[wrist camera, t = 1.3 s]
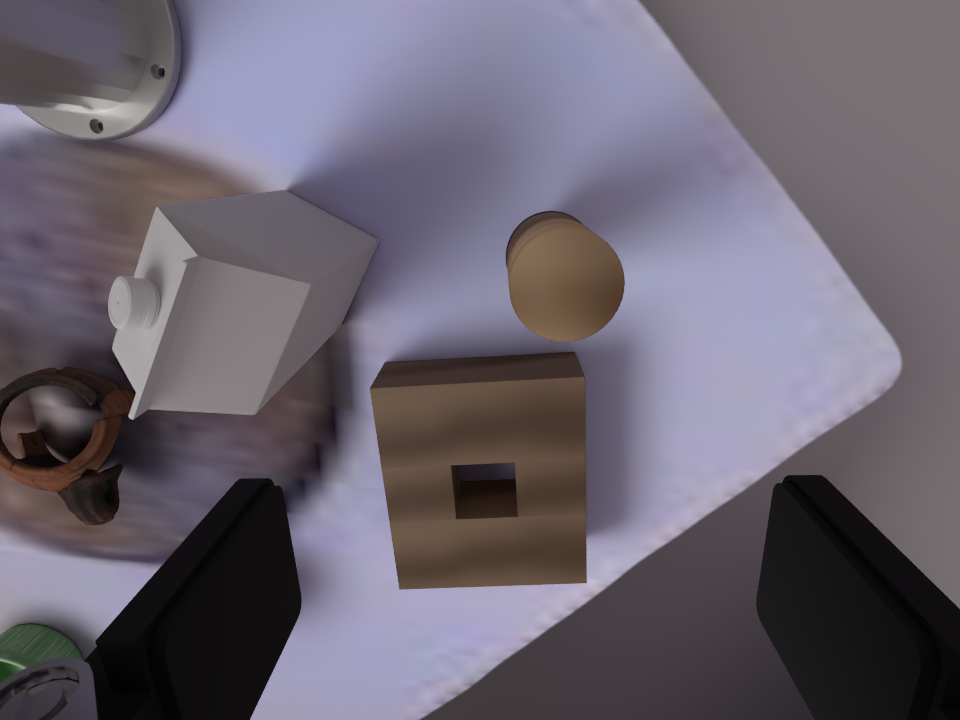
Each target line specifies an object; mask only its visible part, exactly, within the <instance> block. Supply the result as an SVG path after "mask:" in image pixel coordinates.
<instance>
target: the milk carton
mask: <svg viewBox="0 0 960 720" xmlns="http://www.w3.org/2000/svg"><path fill="white" fill-rule="evenodd" d="M378 244H379V240H378V239H377V238H375V237H373V236H371V235H369V234H367V233H365V232H363V231H361V230H360V229H358V228H356V227H354V226H352V225H350V224H348V223H346V222H344V221H342V220H341V219H339V218H337V217H335V216H333V215H331V214H329V213H327V212H325V211H324V210H322V209H320V208H318V207H316V206H314V205H312V204H310V203H308V202H306V201H305V200H303V199H301V198H299V197H297V196H295V195H293V194H291V193H289V192H288V191H286V190H280V191H272V192H265V193H257V194H249V195H241V196H233V197H225V198H217V199H209V200H201V201H193V202H185V203H177V204H170V205H163V206H157V207H156V209H155V212H154V215H153V218H152V221H151V224H150V227H149V230H148V233H147V236H146V239H145V242H144V246H143V249H142V252H141V255H140V258H139V262H138V265H137V268H136V271H135V274H134V277H130V276H119V277H118V278H117V279H116V280H115V281H114V283H113V285H112V288H111V291H110V295H109V302H108V311H109V317H110V320H111V322H112V324H113V325H114V327H116V328H117V332H116V335H115V339H114V342H113V347H112V350H113V352H114V354H115V356H116V358H117V359H118V361H119V363H120V365H121V366H122V368H123V370H124V372H125V374H126V375H127V377H128V379H129V381H130V383H131V384H132V386H133V388H134V390H135V392H136V395H135V398H134V401H133V404H132V407H131V410H130V413H129V415H128V416H129V418H130V419H132V420H134V419H135V418H137V417H138V416H139V415H141V414H142V413H144V412H145V411H146V410H148V409H152V410H171V411H190V412H208V413H227V414H245V415H255V414H256V413H257V412H258V411H259V410H260V409H261V408H262V407H263V406H264V405H265V404H266V403H267V402H268V400H269V399H270V398H271V397H272V396H273V395H274V394H275V393H276V392H277V391H278V390H279V389H280V388H281V387H282V386H283V385H284V384H285V383H286V382H287V381H288V380H289V379H290V378H291V377H292V376H293V375H294V374H295V373H296V372H297V371H298V370H299V368H300V367H301V366H302V365H303V364H304V363H305V362H306V361H307V360H308V359H309V358H310V357H311V356H312V355H313V354H314V353H315V352H316V351H317V350H318V349H319V348H320V347H321V346H322V345H323V344H324V343H325V342H326V341H327V340H328V339H329V337H330V336H331V335H332V334H333V333H334V332H335V331H336V330H337V329H338V328H339V327H340V326H341V324H342V322H343V320H344V318H345V316H346V314H347V311H348V309H349V307H350V305H351V303H352V301H353V298H354V296H355V294H356V292H357V290H358V288H359V285H360V283H361V281H362V279H363V277H364V275H365V272H366V270H367V268H368V266H369V264H370V262H371V259H372V257H373V255H374V253H375V251H376V248H377V246H378Z"/></svg>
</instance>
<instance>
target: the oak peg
mask: <svg viewBox="0 0 960 720" xmlns="http://www.w3.org/2000/svg"><path fill="white" fill-rule="evenodd" d="M506 265H507V269H508V280H509V291H510V299H511V303H512V306H513V308H514V311H515V313H516V314H517V316H518V318H519V319H520V320H521V322H522V323H523V324H524V325H525V326H526V327H527V328H528V329H529V330H531V331H532V332H533V333H535V334H537V335H539V336H541V337H543V338H546V339H549V340H553V341H560V342H568V341H576V340H580V339H583V338H586V337H589V336H591V335H593V334H594V333H596V332H598V331H599V330H600V329H602V328H603V327H604V326H605V325H606V324H607V323H608V322H609V321H610V320H611V319H612V318H613V316H614V315H615V313H616V312H617V310H618V308H619V306H620V303H621V301H622V297H623V293H624V284H625V282H624V272H623V268H622V265H621V262H620V260H619V258H618V256H617V254H616V253H615V251H614V250H613V249H612V247H611V246H610V245H609V244H608V243H607V242H605V241H604V240H603V239H602V238H600V237H599V236H598V235H596V234H595V233H593V232H592V231H591V230H589V229H588V228H587V227H585V226H584V225H583V224H582V223H581V222H580V221H578V220H577V219H576V218H574V217H572V216H571V215H568V214H566V213H562V212H557V211H546V212H540V213H537V214H534V215H532V216H530V217H528V218H527V219H525V220H524V221H523V222H521V223H520V224H519V225H518V226H517V228H516V229H515V230H514V232H513V233H512V235H511V237H510V239H509V242H508V245H507V249H506Z"/></svg>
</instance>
